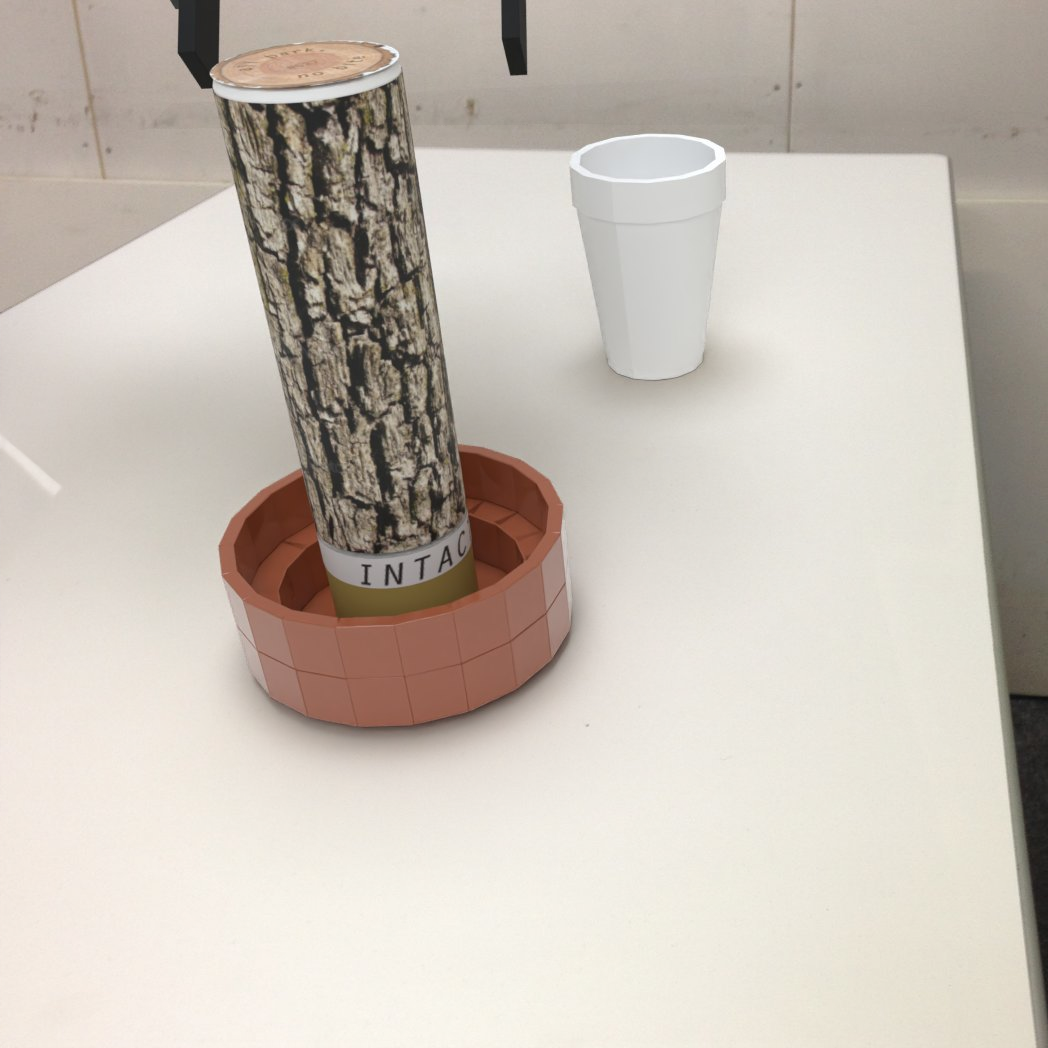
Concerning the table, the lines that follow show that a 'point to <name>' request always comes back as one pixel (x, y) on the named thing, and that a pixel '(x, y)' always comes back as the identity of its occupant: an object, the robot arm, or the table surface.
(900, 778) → the table surface
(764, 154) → the table surface
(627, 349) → the foam cup
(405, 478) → the paper tube
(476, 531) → the bowl
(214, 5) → the robot arm
